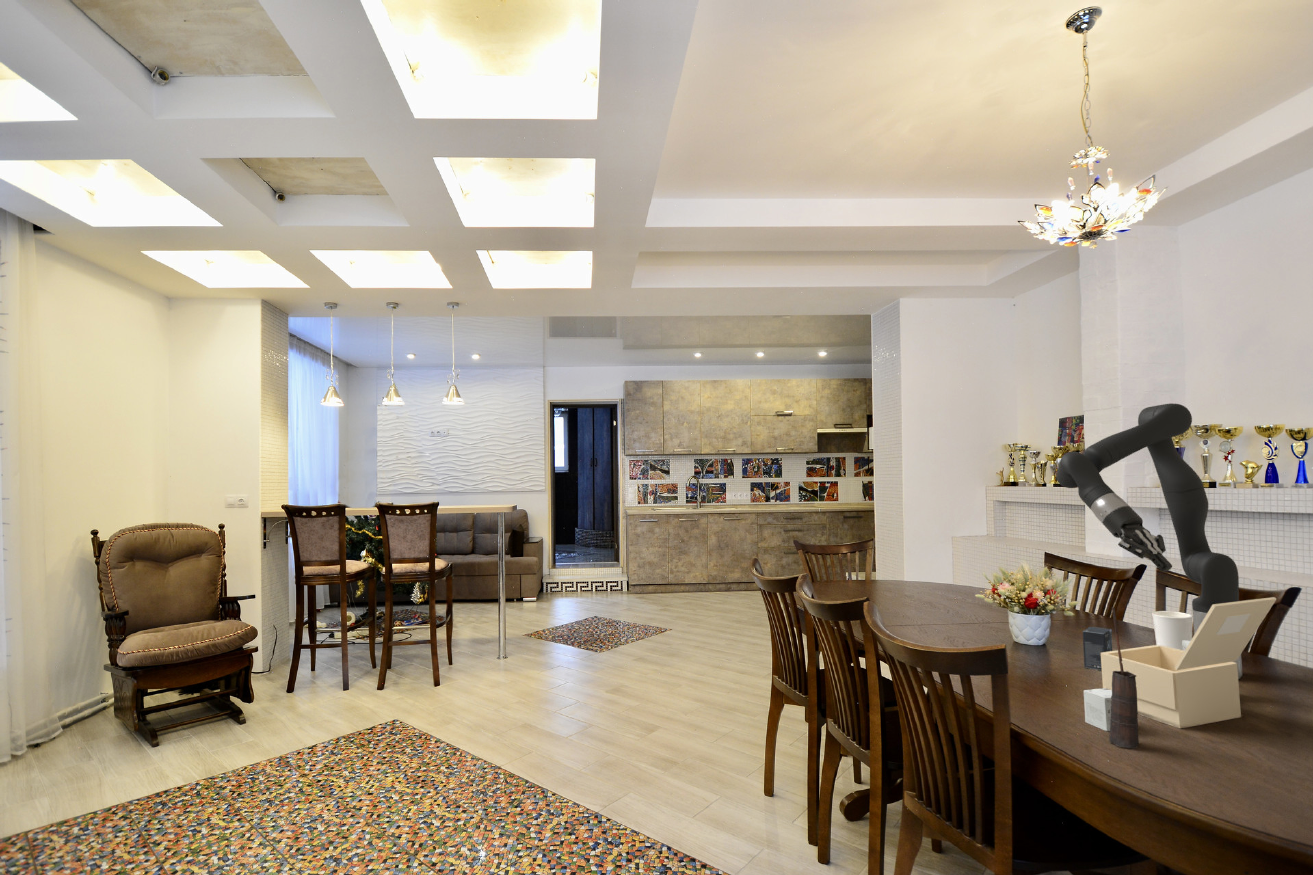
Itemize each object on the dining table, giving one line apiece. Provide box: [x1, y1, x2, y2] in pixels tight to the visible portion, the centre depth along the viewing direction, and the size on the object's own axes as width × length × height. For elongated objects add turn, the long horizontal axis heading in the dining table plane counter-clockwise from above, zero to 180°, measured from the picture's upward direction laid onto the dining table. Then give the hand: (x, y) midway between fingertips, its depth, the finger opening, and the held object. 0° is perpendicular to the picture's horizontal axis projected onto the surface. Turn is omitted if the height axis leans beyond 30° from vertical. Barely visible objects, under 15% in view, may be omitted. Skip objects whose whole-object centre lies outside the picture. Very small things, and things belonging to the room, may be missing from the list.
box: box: [1082, 626, 1114, 671], centre depth 197 cm, size 8×6×11 cm
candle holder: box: [1151, 610, 1193, 650], centre depth 207 cm, size 10×10×12 cm
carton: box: [1101, 644, 1242, 730], centre depth 162 cm, size 20×18×12 cm
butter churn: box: [1108, 606, 1140, 749], centre depth 142 cm, size 9×10×28 cm
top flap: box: [1174, 596, 1277, 670], centre depth 149 cm, size 19×18×1 cm
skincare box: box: [1083, 687, 1112, 732], centre depth 153 cm, size 6×6×7 cm
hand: (1167, 569), depth 162 cm, fingers closed
